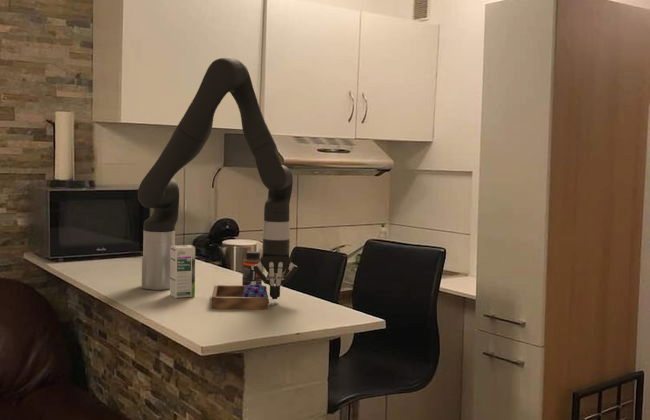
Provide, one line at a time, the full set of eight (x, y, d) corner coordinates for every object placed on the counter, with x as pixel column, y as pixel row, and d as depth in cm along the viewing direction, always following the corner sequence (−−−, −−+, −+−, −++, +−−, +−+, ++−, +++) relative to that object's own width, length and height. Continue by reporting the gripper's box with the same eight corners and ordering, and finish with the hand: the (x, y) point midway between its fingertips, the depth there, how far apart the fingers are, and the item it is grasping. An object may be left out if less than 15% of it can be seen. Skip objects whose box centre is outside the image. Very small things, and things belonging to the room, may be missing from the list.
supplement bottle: (258, 291, 219) (259, 253, 218) (239, 289, 220) (240, 252, 219) (264, 287, 225) (265, 251, 224) (245, 286, 226) (246, 250, 225)
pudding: (279, 309, 198) (280, 290, 197) (235, 309, 195) (235, 290, 195) (272, 299, 210) (273, 281, 209) (230, 300, 207) (231, 282, 206)
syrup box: (175, 298, 204) (176, 247, 203) (169, 294, 209) (170, 244, 208) (194, 297, 207) (195, 246, 206) (188, 293, 212) (189, 243, 211)
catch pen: (211, 308, 193) (211, 297, 193) (214, 295, 210) (214, 285, 210) (268, 309, 195) (268, 298, 195) (266, 295, 212) (266, 285, 212)
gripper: (252, 238, 198) (251, 301, 199) (301, 239, 199) (299, 301, 201) (252, 235, 205) (250, 295, 207) (298, 235, 207) (297, 296, 208)
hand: (274, 298), depth 204 cm, fingers closed
